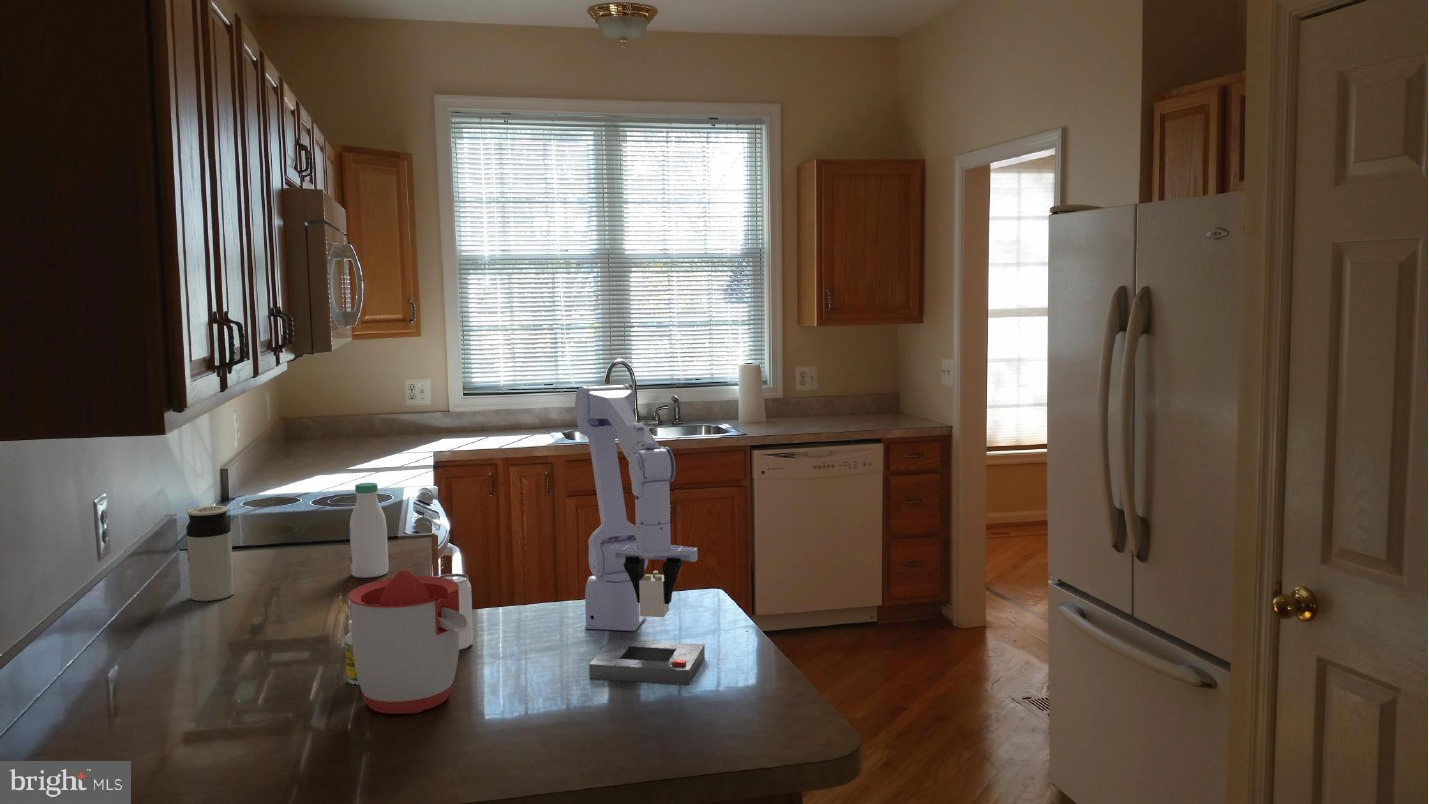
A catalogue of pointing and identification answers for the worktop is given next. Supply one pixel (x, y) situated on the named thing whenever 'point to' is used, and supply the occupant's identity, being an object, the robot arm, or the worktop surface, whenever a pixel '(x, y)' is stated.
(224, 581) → the travel mug
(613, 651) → the socket plate
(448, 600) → the citrus juicer
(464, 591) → the can
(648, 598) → the plug
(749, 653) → the worktop surface
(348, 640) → the supplement bottle
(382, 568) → the milk bottle
